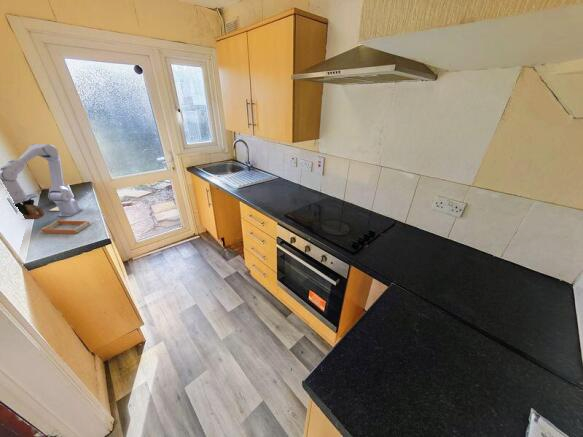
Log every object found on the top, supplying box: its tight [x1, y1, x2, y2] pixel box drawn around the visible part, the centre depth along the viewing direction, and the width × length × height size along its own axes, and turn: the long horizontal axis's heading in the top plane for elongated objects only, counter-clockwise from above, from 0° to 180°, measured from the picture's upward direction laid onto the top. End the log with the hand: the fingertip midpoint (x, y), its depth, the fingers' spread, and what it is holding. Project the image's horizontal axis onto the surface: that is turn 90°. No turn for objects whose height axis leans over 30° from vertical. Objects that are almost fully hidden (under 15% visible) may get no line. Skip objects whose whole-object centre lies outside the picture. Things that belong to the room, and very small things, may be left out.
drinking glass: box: [64, 183, 75, 199], centre depth 168 cm, size 7×7×10 cm
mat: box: [48, 206, 60, 212], centre depth 156 cm, size 8×8×1 cm
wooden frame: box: [40, 219, 91, 235], centre depth 133 cm, size 10×19×2 cm, turn 88°
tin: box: [22, 204, 45, 220], centre depth 127 cm, size 15×3×8 cm, turn 89°
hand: (29, 213), depth 127 cm, fingers closed on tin, 2 cm apart
